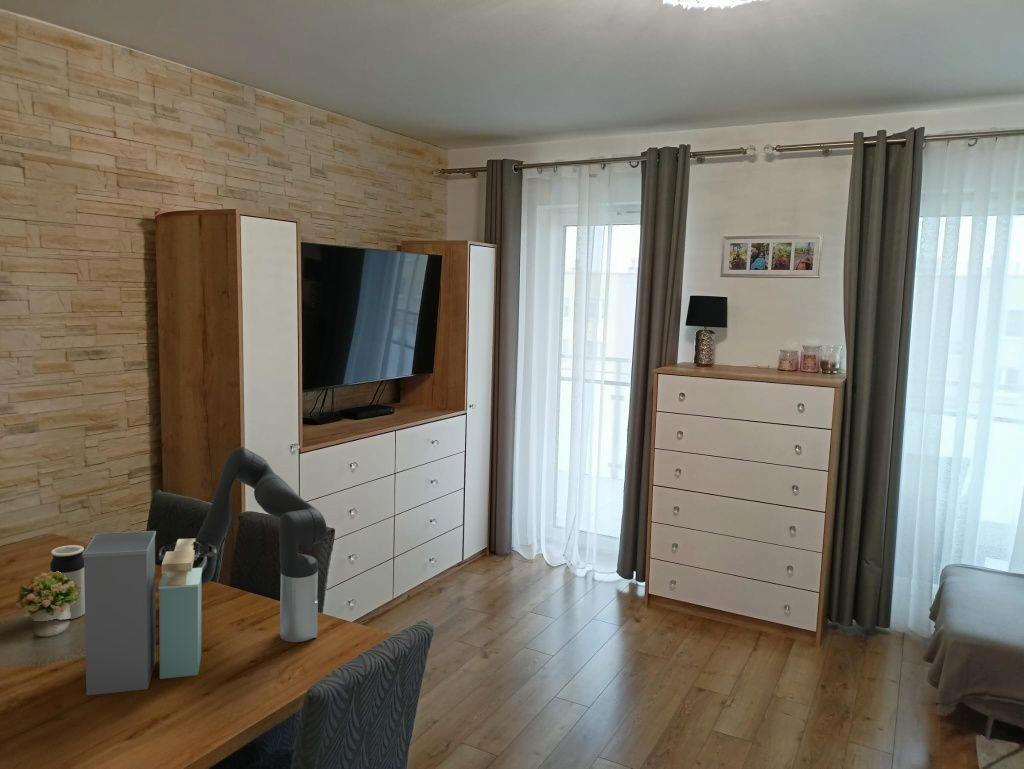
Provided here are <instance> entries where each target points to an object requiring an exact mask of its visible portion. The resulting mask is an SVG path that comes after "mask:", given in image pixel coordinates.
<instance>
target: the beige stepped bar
mask: <svg viewBox="0 0 1024 769" xmlns="http://www.w3.org/2000/svg"><path fill="white" fill-rule="evenodd" d="M194 541H196V537H195V538H178V539H177V541H176V543H177V544H176V546H175V549H174V551H169V552H166V554H165V556H164V559H163V560H162V563H161V574H163V573H167V586H173V585H186V584H187V580H188V577H189V573H190V571H191V570H192V567H193V563H194V559H195V550H193V546H194V545H193V542H194Z"/></svg>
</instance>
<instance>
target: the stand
mask: <svg viewBox="0 0 1024 769" xmlns="http://www.w3.org/2000/svg"><path fill="white" fill-rule="evenodd" d="M156 535H157V531H156V530H145V531H144V530H143V531H123V532H122V531H121V532H103V533H100V532H99V533H96V534H95V535H94V536H93V538H92V539H91V541H90V542H89V543H88V545H87V547H86V548H85V549H84V550H83V553H82V555H83V558H84V585H85V614H84V624H85V626H84V627H85V628H84V629H85V630H84V631H85V632H84V633H85V681H86V683H85V684H86V685H85V686H86V696H94V695H104V694H113V693H123V692H132V691H141V690H143V691H144V690H148V688H149V686H150V682H151V678H152V675H153V671H154V667H155V664H156V661H157V660H156V659H157V658H156V655H157V652H156V650H157V649H156V647H157V646H156V642H157V641H156V640H157V639H156Z"/></svg>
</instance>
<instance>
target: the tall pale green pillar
mask: <svg viewBox="0 0 1024 769" xmlns="http://www.w3.org/2000/svg"><path fill="white" fill-rule="evenodd" d="M201 574H202V568H192V570H191V571H190V573H189V577H188V580H187V584H186V585H173V586H167V573H162V575H161V578H160V581H159V583H158V586H157V590H158V591H159V592H158V594H159V597H158V598H159V608H158V609H159V614H158V616H159V618H158V619H159V680H160V679H161V680H162V679H172V678H181V677H183V678H184V677H191V676H198V675H199V669H200V663H201V658H202V584H201Z"/></svg>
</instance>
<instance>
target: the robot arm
mask: <svg viewBox="0 0 1024 769" xmlns="http://www.w3.org/2000/svg"><path fill="white" fill-rule="evenodd" d="M220 474H221V475H220V477H219V481H218V484H217V486H216V489H215V492H214V496H213V499H212V502H211V505H210V508H209V510H208V512H207V514H206V517H205V519H204V521H203V523H202V525H201V527H200V529H199V531H198V534H197V535H196V537H195V541H194V542H193V545H194V546H193V550H195V559H194V563H193V567H192V568H202V574H201V585H205V584H207V583H209V582H210V581H211V580H212V579H213V577H214V575H215V572H216V567H217V560H218V555H219V551H220V548H221V545H222V543H223V541H224V539H225V537H226V536H227V532H228V531H229V528H230V526H231V523H232V501H231V500H232V490H233V486H234V484H235V481H236V480H237V481H238V482H239V483H240V482H241V483H242V484H245V485H247V486H249V487H251V488H253V491H254V492H253V496H254V499H255V501H256V503H257V504H258V505H259V506H260V508H262V510H263V511H264V512H266V513H267V514H269V515H270V516H272V517H275V518H279V522H278V535H279V536H278V539H279V540H278V541H279V561H280V592H279V593H280V595H279V596H280V601H279V603H280V604H279V606H280V608H279V611H280V612H279V638H281V639H282V640H283V641H286V642H291V643H300V642H306V641H309V640H312V639H315V638H318V617H319V616H318V615H319V614H318V612H319V611H318V608H319V607H318V606H319V603H318V584H319V583H318V579H319V576H318V575H319V574H318V573H319V561H318V560H317V558H315V557H314V556H312V555H309V554H303V553H299V551H298V550H299V548H301V547H308V546H312V545H316V544H320V543H321V542H322V541H324V539H325V538H326V535H327V532H328V531H327V530H328V528H327V523H326V519H325V518H324V515H323V514H322V513H321V511H320V510H318V508H316V507H315V506H314V505H312V504H310V503H309V502H307V500H304V499H303V498H302V497H301V496H300V495H299V494H298V493H297V492H295V490H294V489H292V487H291V486H290V485H289V484H288V483H287V482H286V481H285V480H284V479H282V477H280V476H279V475H278V474H276V472H274V470H273V469H272V467H271V466H270V464H269V463H268V461H267V460H266V459H265V458H264V457H262V456H261V455H259V454H257V453H255V452H254V451H251V450H249V449H248V448H246V447H242V446H241V447H240V446H239V447H236V448H235V449H233V450H232V451H231V452H230V454H229V455H228V456H227V459H226V460H225V462H224V466H223V468H222V471H221V473H220ZM176 544H177V541H176V542H172V544H170V545H168V544H166V545H164V546H162V547H161V548H159V550H158V553H159V554H158V560H160V561H163V559H164V556H165V554H166V552H169V551H174V549H175V546H176Z"/></svg>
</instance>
